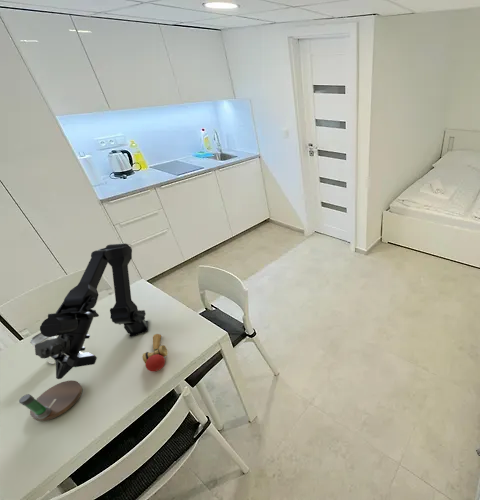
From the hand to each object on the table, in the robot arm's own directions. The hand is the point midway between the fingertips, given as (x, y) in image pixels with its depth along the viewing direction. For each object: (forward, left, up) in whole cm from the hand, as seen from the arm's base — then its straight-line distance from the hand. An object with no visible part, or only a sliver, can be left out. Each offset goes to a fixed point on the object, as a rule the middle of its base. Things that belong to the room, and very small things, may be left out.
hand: (58, 378), depth 92 cm
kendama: (-24, -5, -12) cm, 27 cm away
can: (+10, -24, -12) cm, 28 cm away
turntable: (+5, -1, -10) cm, 12 cm away
